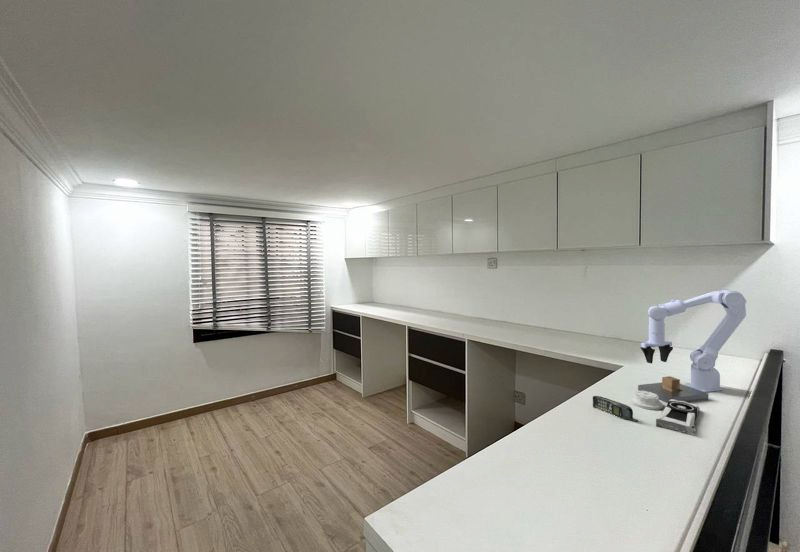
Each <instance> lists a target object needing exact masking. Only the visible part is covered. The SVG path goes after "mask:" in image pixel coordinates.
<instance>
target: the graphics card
mask: <svg viewBox="0 0 800 552" xmlns="http://www.w3.org/2000/svg"><path fill="white" fill-rule="evenodd" d="M699 413H700V407H699V405H698V404H695V403H693V402H685V401H677V400H674V399H671V400H669V401H668V403H666V406H665V408H664V409H663V411H662V413H661V414H660V416H659V417H658V418H656V419H655V427H661V428H665V429H668V430H671V431H673V430H674V431H675V432H679V433H680V432H681V433H683V434H686V435H688V436H692V437H695V436H696V433H694V432H696V431H697V429H696V428H695V427H696V424H697V420H698V417H699Z"/></svg>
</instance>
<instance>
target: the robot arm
mask: <svg viewBox="0 0 800 552" xmlns="http://www.w3.org/2000/svg"><path fill="white" fill-rule="evenodd" d="M709 303H713V304H718V305H719V304H720V305H721V306H722V307H723V309H724V310H725V312H726V314H725V316H724V317H723V318H722V320H721V321H720V322H719V324H717V326H716V327H715V328H714V330H713V331H712V333H710V335H709V337H708V338H707V339H706V341H705V342H704V343H703V344H702V345H700V346H698V348H696V349H695V350H692V352H690V354H689V360H690V361H692V362H691V364H690V383H686V384H684V385H685V386H688V387H691V388H694V389H697V390H699V391H702V392H705V393H708V392H709V393H710V392H718V391H723V388H721V374H720V372H719V370H718V369H717V368H715V366H716V362H717V359H718V357H719V351H720V350H721V349H722V348H723V346H724V345H725V344H726V342H727V341H728V340H729V338H730V337H731V336H732V335H733V334H734V332H735V331H736V330H737V328H738V327H739V326H740V324H741V323H742V322H743V321H744V319H745V318H746V316H747V309H746V304H747V299H746V298H745V295H743V294H742V292H739V291H737V290H731V289H727V288H724V289H720V290H714V291H711V292H708V293H704V294H702V295H698V296H694V297H692V298H689V299H686V300H680V299H670V301H668V302H666V303H659V304H658V306H657V305H652V306H651V307H649V308H648V310H647V315H648V316H649V317H648V339H647V340H646V341H645V342H641V343H640V349H641V351H642V353H643V355H644V357H645V362H646V363H648V364H653V363H654V362H653V360H654V359H653V358H654V354H655V351H656V349H655V348H656V347H657V349H658V351H659V358H660V362H662V363H663V362H664V363H667V361H668V358H669V356H670V353H671V352H672V351H673V349H674V347H673V341H671V340H666V339H665V338H666V336H665V335H666V331H665V329H666V327H665V326H666V325H665V324H666V323H665V318H666V317H671V316H675V315H679V314H682V313H685V312H686V310H687V309H689V308H693V307H696V306H700V305H701V306H702V305H704V304H709Z"/></svg>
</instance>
